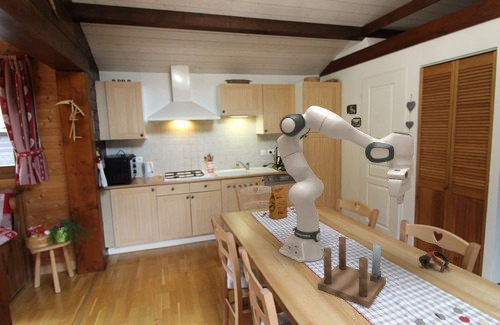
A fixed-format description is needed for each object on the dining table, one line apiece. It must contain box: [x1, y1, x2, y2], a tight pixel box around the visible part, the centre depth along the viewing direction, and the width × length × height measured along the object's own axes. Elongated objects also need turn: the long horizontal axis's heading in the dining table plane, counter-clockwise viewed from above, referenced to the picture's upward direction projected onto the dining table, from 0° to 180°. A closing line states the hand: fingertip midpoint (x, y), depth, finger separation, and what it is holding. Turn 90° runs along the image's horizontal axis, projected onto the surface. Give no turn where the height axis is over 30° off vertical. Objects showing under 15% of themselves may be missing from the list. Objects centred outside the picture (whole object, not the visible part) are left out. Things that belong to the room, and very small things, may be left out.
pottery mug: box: [418, 250, 450, 273], centre depth 124 cm, size 12×10×8 cm
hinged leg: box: [371, 244, 382, 276], centre depth 112 cm, size 3×3×12 cm
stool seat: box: [317, 236, 387, 309], centre depth 112 cm, size 20×20×16 cm
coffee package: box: [268, 186, 288, 221], centre depth 202 cm, size 10×12×22 cm
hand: (400, 203), depth 118 cm, fingers closed
